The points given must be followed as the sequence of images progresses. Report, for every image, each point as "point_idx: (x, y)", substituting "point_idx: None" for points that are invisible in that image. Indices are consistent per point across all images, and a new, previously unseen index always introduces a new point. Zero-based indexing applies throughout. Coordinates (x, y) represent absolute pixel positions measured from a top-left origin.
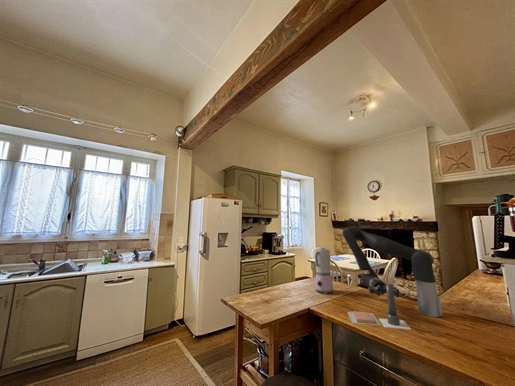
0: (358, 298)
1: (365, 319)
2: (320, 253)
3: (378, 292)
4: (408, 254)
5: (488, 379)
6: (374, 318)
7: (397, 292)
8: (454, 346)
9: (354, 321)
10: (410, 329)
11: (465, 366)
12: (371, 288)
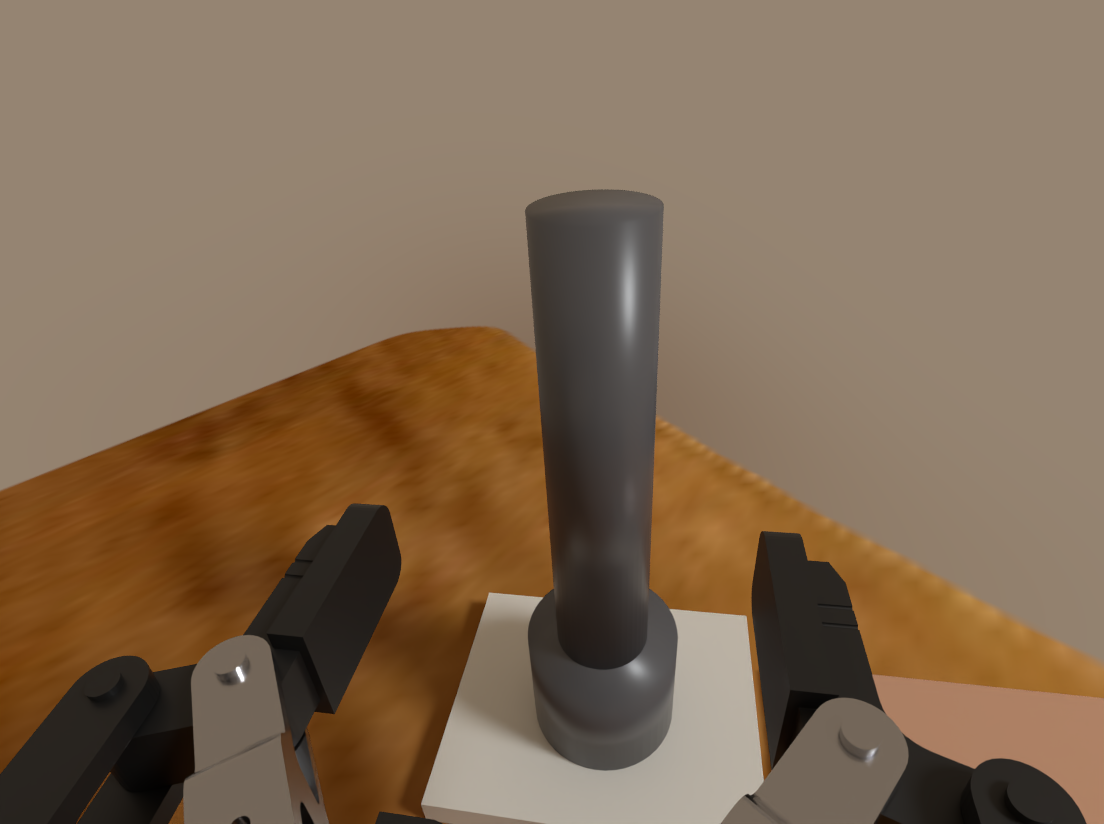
0: None
1: (985, 694)
2: None
3: (790, 533)
4: None
5: (471, 330)
6: None
7: (288, 581)
8: (359, 462)
9: None
10: (497, 596)
11: (483, 362)
12: (1019, 783)
